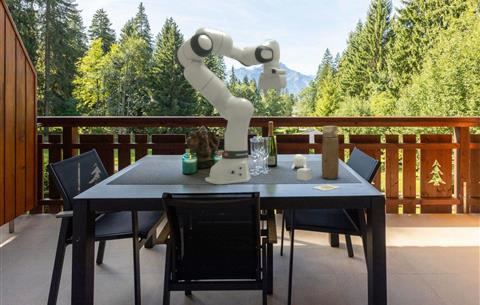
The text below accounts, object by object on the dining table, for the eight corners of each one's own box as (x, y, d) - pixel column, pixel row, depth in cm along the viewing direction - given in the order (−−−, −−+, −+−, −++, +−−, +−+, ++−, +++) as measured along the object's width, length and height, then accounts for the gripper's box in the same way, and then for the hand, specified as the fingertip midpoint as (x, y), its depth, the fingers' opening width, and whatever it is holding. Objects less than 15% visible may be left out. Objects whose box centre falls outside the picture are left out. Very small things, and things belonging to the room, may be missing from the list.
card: (324, 191, 156) (324, 190, 156) (312, 188, 162) (312, 187, 162) (340, 187, 162) (340, 186, 162) (328, 184, 167) (328, 184, 167)
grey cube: (306, 181, 177) (306, 170, 176) (296, 179, 180) (297, 169, 179) (311, 179, 180) (311, 169, 180) (302, 178, 184) (302, 167, 183)
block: (338, 179, 178) (339, 137, 176) (322, 179, 179) (323, 137, 176) (335, 175, 189) (336, 135, 186) (320, 175, 190) (321, 135, 187)
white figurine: (292, 172, 215) (290, 166, 201) (293, 157, 217) (290, 151, 203) (307, 172, 213) (306, 167, 199) (308, 158, 215) (306, 151, 201)
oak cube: (330, 137, 178) (330, 126, 177) (322, 136, 182) (322, 126, 181) (337, 136, 181) (337, 126, 180) (329, 135, 185) (330, 125, 184)
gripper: (255, 72, 208) (255, 98, 210) (279, 69, 191) (279, 97, 193) (264, 73, 212) (264, 97, 213) (288, 70, 195) (288, 97, 197)
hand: (271, 97), depth 203 cm, fingers open, 8 cm apart
